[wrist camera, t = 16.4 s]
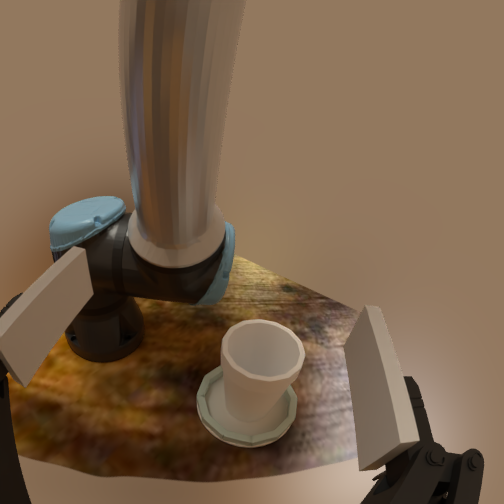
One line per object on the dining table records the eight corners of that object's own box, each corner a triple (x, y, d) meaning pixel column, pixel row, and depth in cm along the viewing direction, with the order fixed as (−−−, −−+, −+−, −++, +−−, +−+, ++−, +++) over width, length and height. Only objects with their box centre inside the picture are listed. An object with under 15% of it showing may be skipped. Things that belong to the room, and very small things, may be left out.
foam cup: (249, 370, 42) (264, 309, 36) (291, 406, 37) (320, 351, 31) (201, 398, 36) (204, 340, 30) (245, 443, 30) (264, 396, 24)
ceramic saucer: (188, 374, 40) (188, 366, 39) (273, 361, 45) (275, 354, 44) (210, 457, 28) (211, 452, 27) (309, 432, 33) (314, 426, 32)
